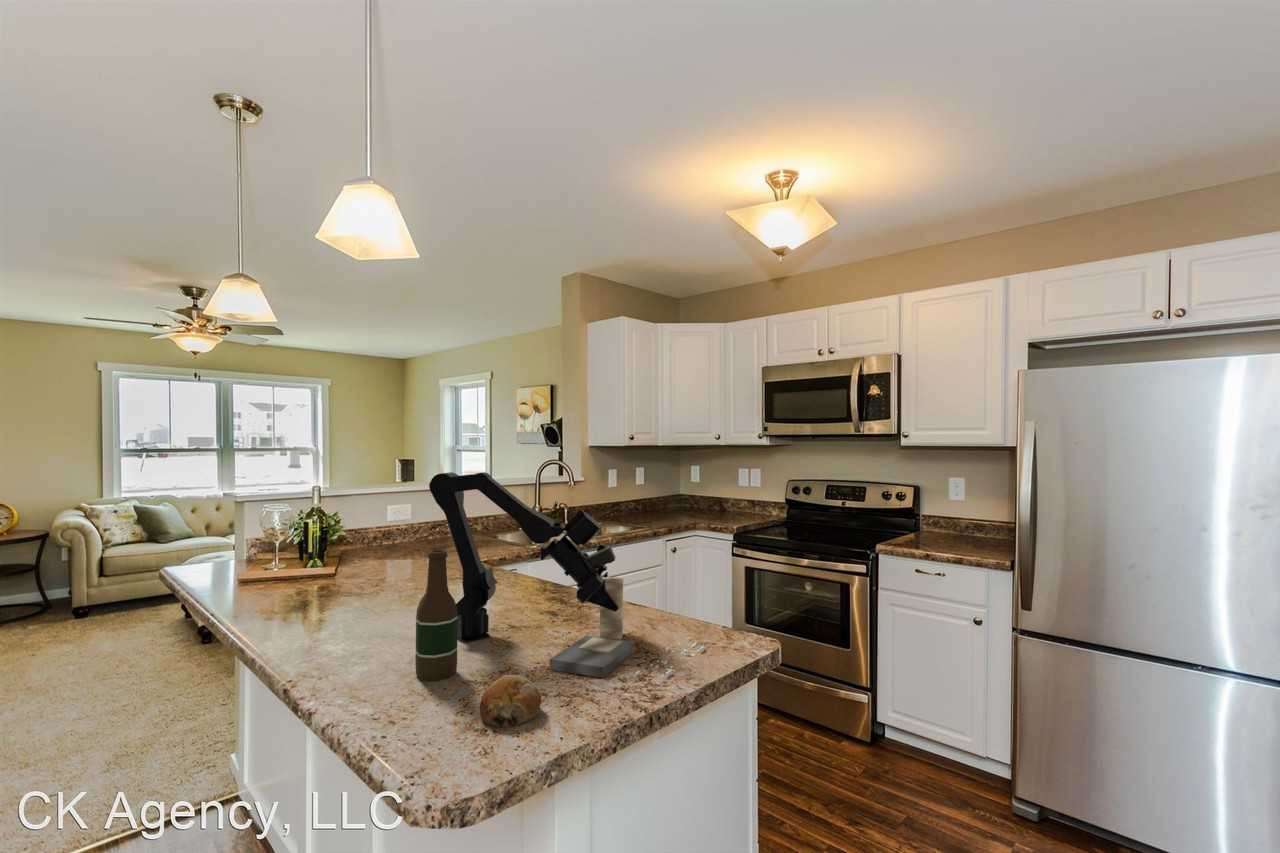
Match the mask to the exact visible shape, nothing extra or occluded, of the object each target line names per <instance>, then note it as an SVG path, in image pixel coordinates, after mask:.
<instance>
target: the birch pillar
mask: <svg viewBox="0 0 1280 853" xmlns="http://www.w3.org/2000/svg"><path fill="white" fill-rule="evenodd" d="M602 580H603V581H604V580H605V589H606V591H607V592H608V593H609V595H610V596H611V598H612V599H613V600H614V602H615V603H616V605H617V606H618V610H617V611H616V612H615V611H612V610H610V609H607V608H604V607H602V606H600V607H599V608H600V609H599V637H602V638H610V639H618V640H623V634H624V632H623V631H624V577H609V576H608V577H602Z"/></svg>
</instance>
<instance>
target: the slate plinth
mask: <svg viewBox="0 0 1280 853" xmlns="http://www.w3.org/2000/svg"><path fill="white" fill-rule="evenodd" d="M635 652H636V641H632V640H625V639H610V638H602V637H600V636H594V635H593V636H592V635H584V636H583V637H582V638H580V639H578V640H577V641H575V642H574V643H572V644H571V645H569V646H568V647H566V648H564V649H563V650H562V651H560V652H559V653H557V654H556V655H554V656H552V657H551V658H550V659H549V670H552V671H559V672H564V673H569V674H570V673H572V674H576V675H577V674H578V675H582V676H583V675H584V676H589V677H590V676H591V677H597V678H602V679H604V678H606V677H607V676H608V675H610V673H612V672H613V671H614V670H615V669H616V668H618V667H619V666H620V665H621V664H622V663H623V662H624V661H626V660H627V659H628V658H629V657H630V656H632V655H633V654H634V653H635Z"/></svg>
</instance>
